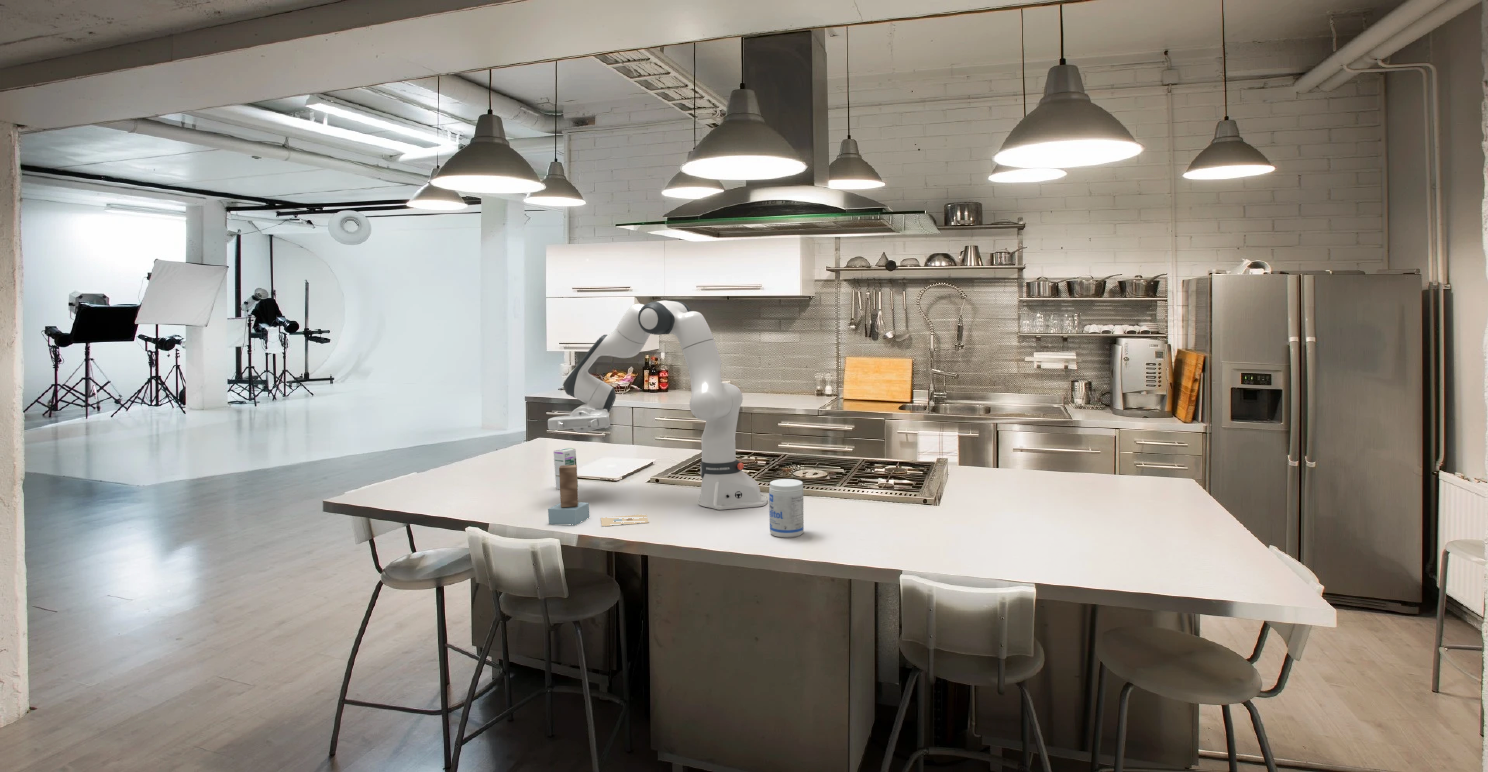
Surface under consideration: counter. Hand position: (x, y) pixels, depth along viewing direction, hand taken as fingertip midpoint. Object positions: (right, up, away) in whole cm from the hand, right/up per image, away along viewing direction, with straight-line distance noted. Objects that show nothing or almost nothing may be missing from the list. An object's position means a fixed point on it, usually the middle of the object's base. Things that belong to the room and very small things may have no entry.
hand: (575, 425), depth 257 cm
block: (+1, -24, -14) cm, 27 cm away
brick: (+1, -29, -13) cm, 32 cm away
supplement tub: (+67, -29, -34) cm, 80 cm away
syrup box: (-10, -25, +32) cm, 42 cm away
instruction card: (+18, -28, -15) cm, 37 cm away
